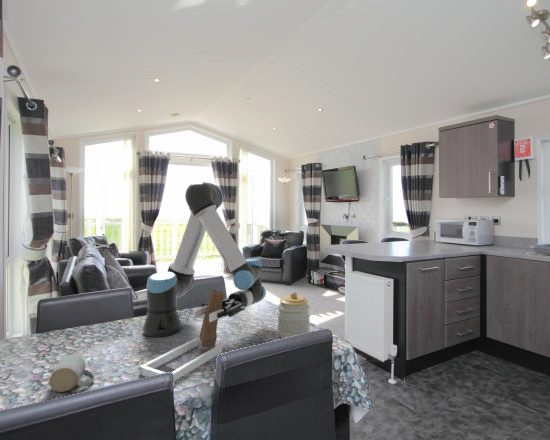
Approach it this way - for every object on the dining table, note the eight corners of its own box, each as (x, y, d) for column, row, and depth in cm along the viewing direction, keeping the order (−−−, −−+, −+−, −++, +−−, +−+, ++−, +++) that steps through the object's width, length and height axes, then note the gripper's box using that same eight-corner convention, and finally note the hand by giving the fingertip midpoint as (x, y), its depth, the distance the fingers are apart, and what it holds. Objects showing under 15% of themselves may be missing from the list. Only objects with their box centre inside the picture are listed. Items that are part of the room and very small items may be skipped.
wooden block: (214, 348, 115) (226, 298, 115) (201, 347, 113) (214, 296, 113) (210, 337, 123) (222, 291, 123) (199, 336, 122) (210, 289, 122)
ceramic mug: (47, 396, 89) (47, 368, 89) (56, 381, 97) (56, 355, 97) (91, 390, 92) (91, 363, 92) (97, 376, 100) (97, 351, 100)
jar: (300, 344, 123) (300, 298, 122) (271, 337, 130) (271, 293, 129) (315, 333, 134) (315, 290, 133) (287, 327, 141) (287, 286, 140)
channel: (139, 374, 101) (139, 366, 101) (195, 344, 123) (195, 338, 123) (168, 385, 95) (168, 376, 95) (222, 351, 117) (222, 344, 117)
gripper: (260, 312, 131) (224, 332, 111) (221, 305, 140) (181, 321, 120) (260, 294, 130) (224, 310, 110) (221, 288, 140) (181, 301, 120)
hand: (201, 316), depth 115 cm, fingers closed on wooden block, 7 cm apart
